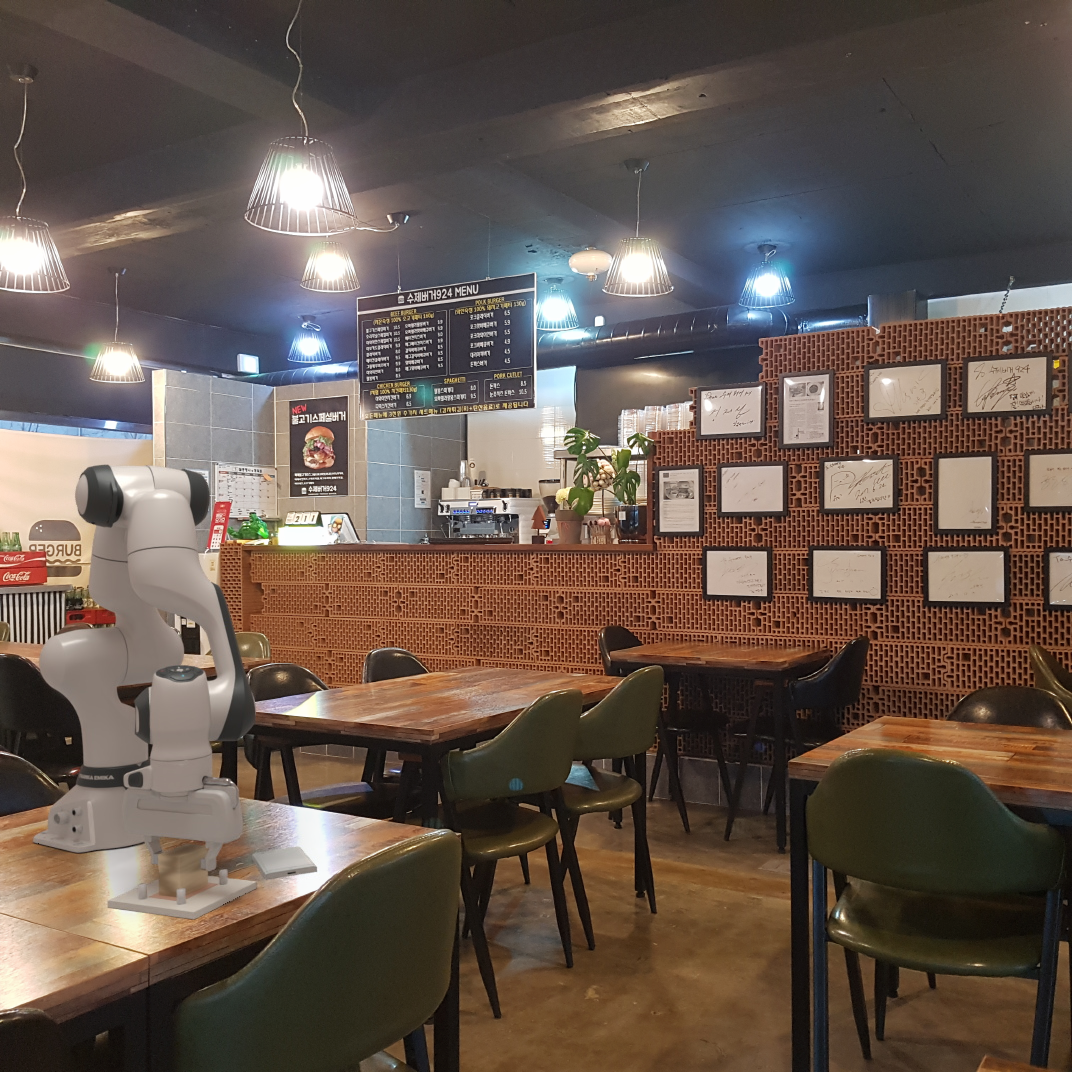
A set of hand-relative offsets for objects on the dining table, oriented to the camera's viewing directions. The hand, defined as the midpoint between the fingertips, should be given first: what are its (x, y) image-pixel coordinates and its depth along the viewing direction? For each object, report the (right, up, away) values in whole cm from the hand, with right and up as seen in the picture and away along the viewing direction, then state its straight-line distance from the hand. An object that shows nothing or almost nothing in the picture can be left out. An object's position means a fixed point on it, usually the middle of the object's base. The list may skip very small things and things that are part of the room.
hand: (183, 866), depth 151 cm
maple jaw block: (0, -4, 0) cm, 4 cm away
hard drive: (+11, -5, +15) cm, 19 cm away
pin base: (0, -5, 0) cm, 5 cm away
